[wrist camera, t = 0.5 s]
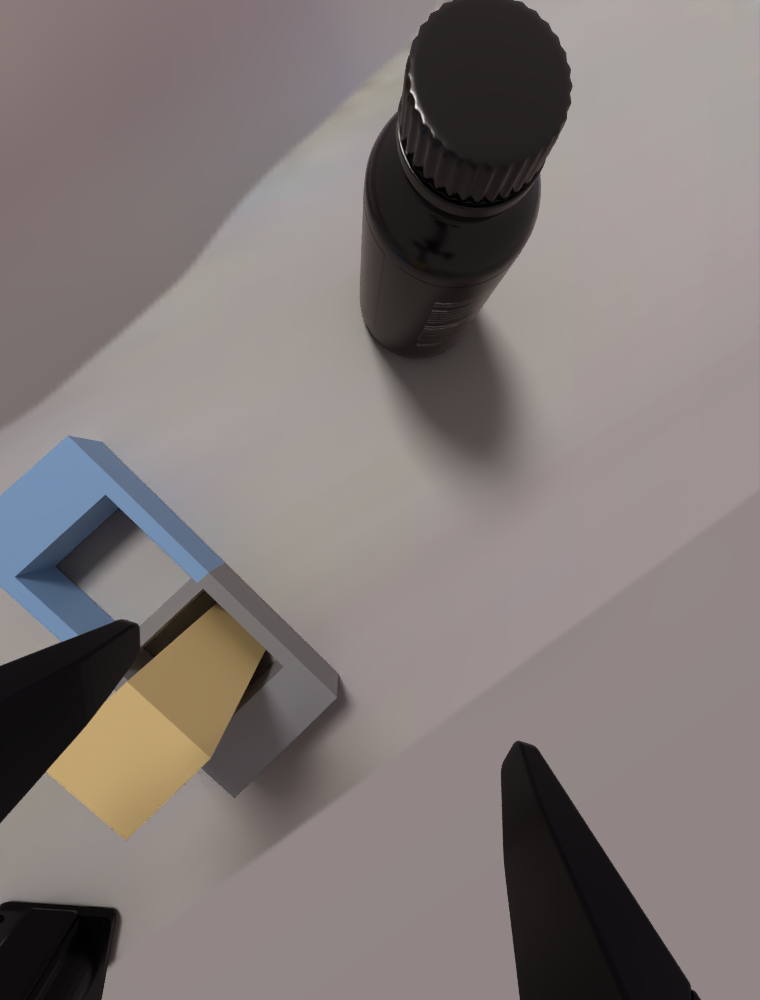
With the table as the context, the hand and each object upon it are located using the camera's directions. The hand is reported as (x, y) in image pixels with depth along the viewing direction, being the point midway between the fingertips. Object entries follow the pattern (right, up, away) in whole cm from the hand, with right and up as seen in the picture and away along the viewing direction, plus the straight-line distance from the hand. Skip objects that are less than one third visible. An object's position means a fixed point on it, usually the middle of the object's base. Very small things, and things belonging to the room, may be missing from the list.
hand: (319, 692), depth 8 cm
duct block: (-11, -2, +13) cm, 17 cm away
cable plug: (-8, -4, +13) cm, 16 cm away
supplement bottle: (+3, +16, +14) cm, 22 cm away
